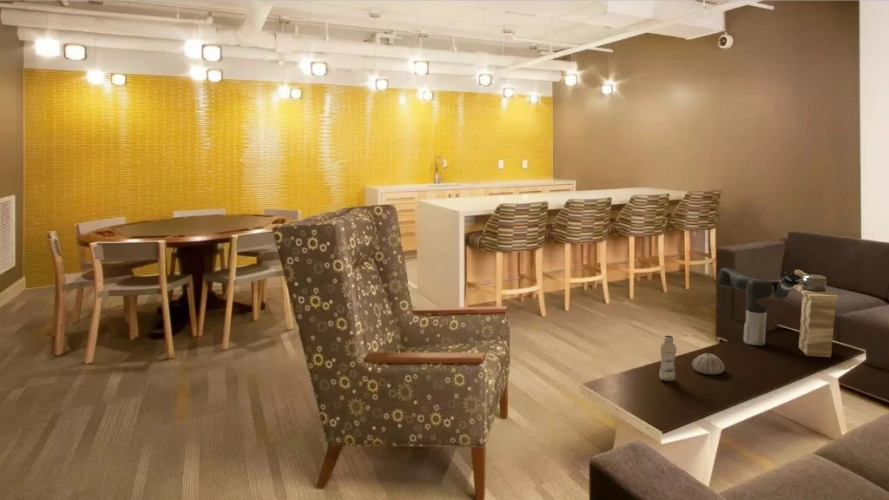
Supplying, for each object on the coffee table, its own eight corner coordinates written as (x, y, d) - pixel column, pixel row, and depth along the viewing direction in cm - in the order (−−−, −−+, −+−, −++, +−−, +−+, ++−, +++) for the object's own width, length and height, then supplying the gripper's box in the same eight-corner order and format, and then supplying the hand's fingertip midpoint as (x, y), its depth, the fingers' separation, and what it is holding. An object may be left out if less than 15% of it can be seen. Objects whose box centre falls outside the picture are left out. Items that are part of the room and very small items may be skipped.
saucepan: (829, 292, 263) (830, 278, 262) (805, 291, 266) (806, 278, 265) (807, 279, 291) (808, 267, 290) (786, 278, 294) (786, 266, 292)
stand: (833, 357, 260) (838, 296, 255) (804, 355, 263) (809, 295, 258) (816, 342, 280) (820, 285, 276) (789, 341, 284) (793, 285, 279)
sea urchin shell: (726, 378, 240) (726, 360, 239) (692, 374, 245) (693, 357, 244) (722, 367, 252) (723, 350, 251) (690, 364, 257) (691, 348, 256)
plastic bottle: (656, 377, 243) (657, 335, 239) (670, 376, 243) (672, 334, 240) (663, 383, 236) (664, 339, 233) (678, 382, 237) (679, 338, 234)
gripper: (774, 274, 307) (783, 265, 292) (802, 275, 303) (813, 266, 288) (775, 287, 304) (784, 278, 290) (804, 288, 300) (815, 279, 286)
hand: (798, 272), depth 289 cm, fingers open, 8 cm apart
